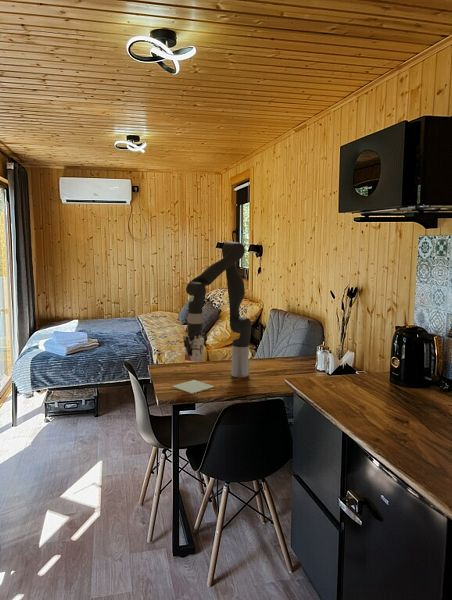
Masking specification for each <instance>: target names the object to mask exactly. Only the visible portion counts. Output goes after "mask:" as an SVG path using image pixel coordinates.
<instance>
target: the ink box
mask: <svg viewBox="0 0 452 600" xmlns="http://www.w3.org/2000/svg"><path fill="white" fill-rule="evenodd" d="M189 342H192V341H190V340H189ZM190 345H191V344H190ZM204 345H205V343H204V338H196V339H194V344H193V346H192V356H188V348H186V347H184V351H185V352H184V360H185V361H189V362H194V363H201V362H203V361H204V350H205V347H204Z"/></svg>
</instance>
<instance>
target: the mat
mask: <svg viewBox="0 0 452 600" xmlns="http://www.w3.org/2000/svg"><path fill="white" fill-rule="evenodd" d="M214 387H215V386H214V385H212V384H208V383H205V382H202V381H199V380H196V379H192V380H190V381H189V380H188V381H185V382H181V383H178V384H175V385H171V388H174V389H175V390H178V389H179V391H181V390H182V392H184V391H185V392H184V393H187V392H188V393H187V394H190V395H195V394H198V393H201V392H204V390H205V391H207V389H208V390H210V389H214ZM197 392H198V393H197ZM194 393H195V394H194Z"/></svg>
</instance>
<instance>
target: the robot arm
mask: <svg viewBox="0 0 452 600" xmlns="http://www.w3.org/2000/svg"><path fill="white" fill-rule="evenodd" d="M245 253H246V249H245V246H244V244H243V243H241V242H237V241H226V242H224V243H223V245H222V248H221V256H222V258H221V259H219V260H218V261H216V262H214V263H212V264H211V265H209V266H208V267H207V268H206V269H204V271H203V272H202V273H201V274H200V275H197V276H196V277H195V278H193V279H192V280H190V281H189V282H188V283H187V285H186V287H185V292H186V294H187V295H188V296H192V297H193V300H191V301H189V302H188V305H187V306H188V308H187V309H188V310H187V311H188V314H187V332H188V333H187V335H184V336H182V339H183V344H184V345H183V347H184V348H185V347H186V348H188V356H192V346H193V344H194V339H196V338H204V344H205V342H206V338H207V337H206V336H207V333H204V332H203V323H204V322H203V321H204V320H203V304H204V301H205V298H206V293H207V288H206V287H207V286H208V287H209V286H210V285H211V284H212V283H213V282H215V280H217V278H218V277H220V275H222V274H223V273H224V272H225V277H226V285H227V295H228V306H229V327H230V330H231V332H232V333H236V334H239V338H235V339H233V340H232V343H231V345H232V348H231V350H232V351H231V372H230V373H231V377H234V378H241V379H242V378H247V377H248V376H249V375H250V358H249V355H250V353H249V352H250V350H249V349H250V341H251V336H252V335H251V334H252V321H251V319H250V318H249V317H244V316H240V306H241V304H242V302H243V300H244V299H245V295H246V291H245V289H246V288H245V282H244V279H243V277H242V275H241V273H240V272H239V270H238V268H237V264H236V263H237V262H239V261H240V260H242V258H243V257H244V255H245ZM189 340H190V341H192V342H189ZM190 344H191V345H190Z"/></svg>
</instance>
